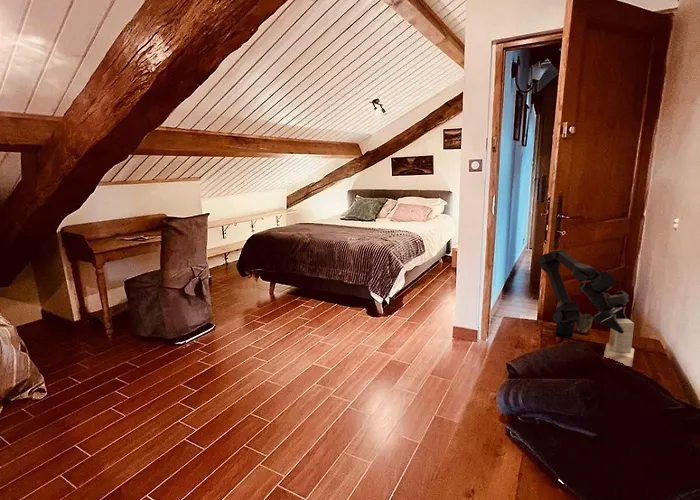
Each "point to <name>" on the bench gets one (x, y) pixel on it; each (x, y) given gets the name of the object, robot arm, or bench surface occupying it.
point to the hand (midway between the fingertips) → (626, 330)
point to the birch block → (620, 356)
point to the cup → (584, 323)
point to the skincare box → (622, 337)
